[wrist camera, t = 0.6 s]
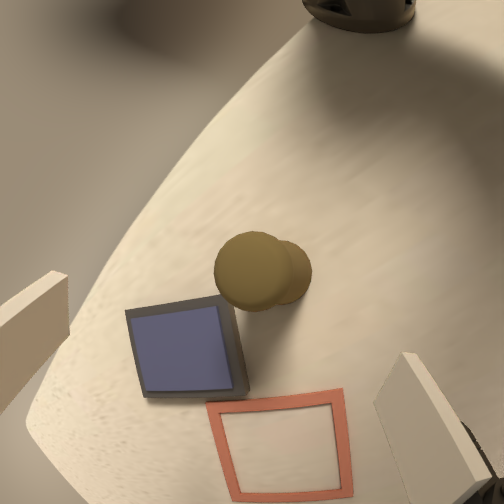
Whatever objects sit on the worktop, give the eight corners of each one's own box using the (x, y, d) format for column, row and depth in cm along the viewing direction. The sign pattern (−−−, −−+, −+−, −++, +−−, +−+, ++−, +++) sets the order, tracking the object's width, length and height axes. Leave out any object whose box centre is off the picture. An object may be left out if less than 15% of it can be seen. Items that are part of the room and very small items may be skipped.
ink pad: (231, 292, 31) (224, 293, 29) (250, 390, 29) (244, 397, 28) (132, 309, 34) (121, 310, 32) (150, 393, 32) (141, 398, 30)
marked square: (342, 388, 27) (342, 389, 27) (353, 494, 25) (353, 496, 25) (206, 401, 31) (205, 402, 30) (233, 499, 29) (232, 501, 28)
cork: (274, 317, 29) (239, 341, 19) (235, 268, 31) (182, 264, 20) (325, 277, 28) (318, 278, 18) (283, 226, 30) (253, 200, 19)
